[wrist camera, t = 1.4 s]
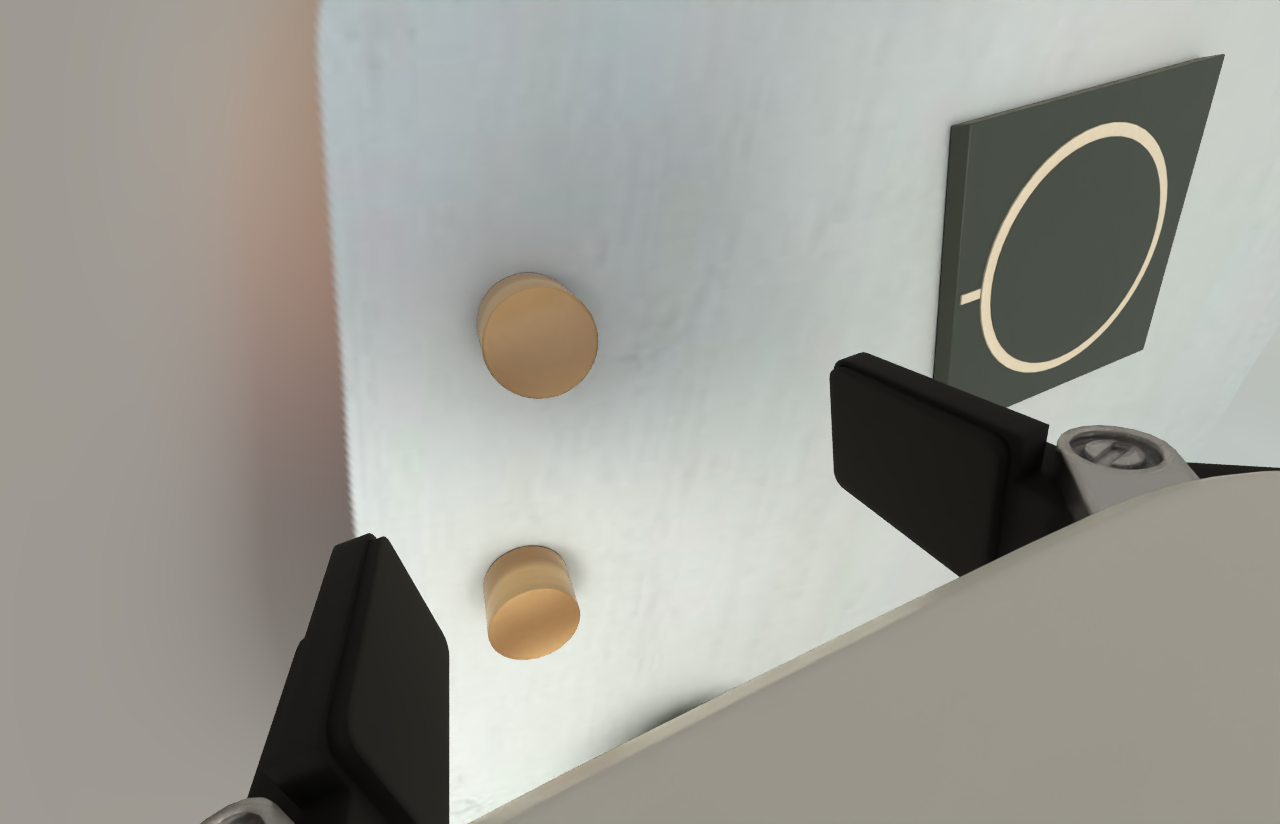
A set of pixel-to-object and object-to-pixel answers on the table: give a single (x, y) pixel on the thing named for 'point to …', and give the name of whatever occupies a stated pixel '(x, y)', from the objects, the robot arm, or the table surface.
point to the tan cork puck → (536, 336)
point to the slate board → (1064, 229)
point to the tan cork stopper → (529, 603)
